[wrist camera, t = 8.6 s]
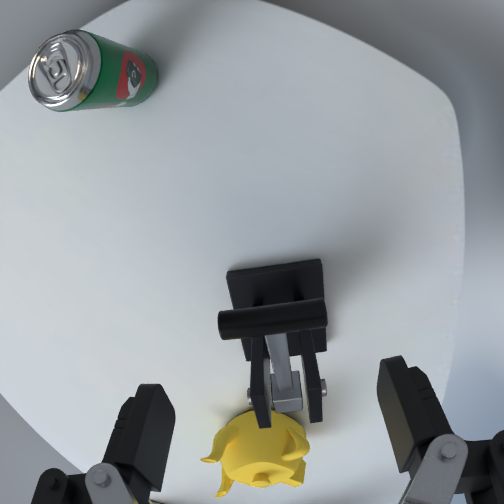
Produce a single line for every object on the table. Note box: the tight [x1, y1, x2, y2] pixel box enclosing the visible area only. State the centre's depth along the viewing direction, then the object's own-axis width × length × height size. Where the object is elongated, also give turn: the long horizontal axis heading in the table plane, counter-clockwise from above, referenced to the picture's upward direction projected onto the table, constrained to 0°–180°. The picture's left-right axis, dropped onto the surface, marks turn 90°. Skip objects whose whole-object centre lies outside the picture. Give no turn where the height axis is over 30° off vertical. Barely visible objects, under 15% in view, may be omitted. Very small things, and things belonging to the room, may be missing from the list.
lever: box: [218, 298, 328, 413], centre depth 20 cm, size 12×6×2 cm, turn 9°
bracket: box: [226, 259, 327, 429], centre depth 27 cm, size 11×9×13 cm
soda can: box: [28, 30, 158, 112], centre depth 18 cm, size 5×5×12 cm
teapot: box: [200, 410, 310, 497], centre depth 38 cm, size 14×13×10 cm
